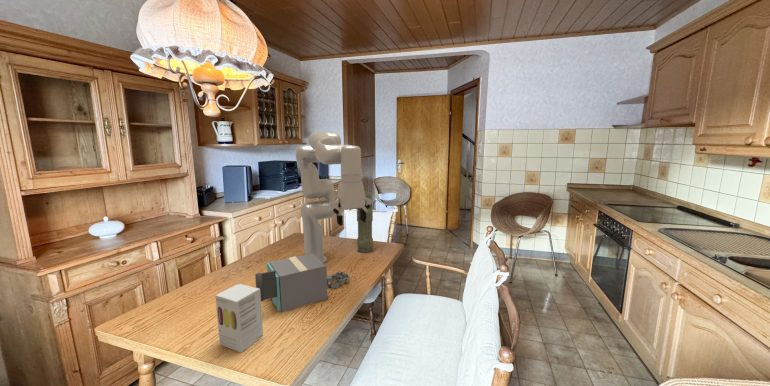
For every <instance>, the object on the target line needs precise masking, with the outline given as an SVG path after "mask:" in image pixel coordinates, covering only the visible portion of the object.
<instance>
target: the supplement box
mask: <svg viewBox="0 0 770 386" xmlns="http://www.w3.org/2000/svg"><path fill="white" fill-rule="evenodd" d="M215 304H216V314H217V315H216V316H217V317H216V318H217V327H218V338H219V341H218V342H219V345H221V346H223V347H225V348H227V349H231V350H232V351H235V352H238V353H243V352H244V351H245V350H247V349H248V348H249V347H251V346H252V345H254V344H255V343H256V342H258V340H260V339H261V338H263V337H264V331H263V330H264V329H263V327H264V325H263V314H262V302H261V295H260V289H259V288H256V286H255V287H253V286H250V285H246V284H243V283H241V282H240V283H237V284H235V285H233V286H231V287H229V288H226V289H225V290H223V291H220V292H219V293H217V294H216V295H215Z"/></svg>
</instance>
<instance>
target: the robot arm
mask: <svg viewBox="0 0 770 386" xmlns="http://www.w3.org/2000/svg"><path fill="white" fill-rule="evenodd" d="M307 141H308V144H305V145H300V146H297V148H296V151H295V159H296V162H297V165H298V168H299V171H300V179H301V180H300V181H301V190H302V197H304V198H305V199H306V200H313V199H314V201H308V202H304V203H302V205H301V207H300V214H301V219H302V226H303V227H302V229H303V244H304V245H303V246H304V247H303V248H304V255H307V254H312V253H313V254H314V255H315V256H316V257H317V258H318V259H319V260H320V261H321V262H323V263H324V264H325V263H326V262H327V261H328V260H327V259H328V258H327V257H326V256H325V254H324V234H323V233H324V232H323V231H324V229H323V226H322V225H321V223H320V222H318V221H320V220H325V219H331V218H334V216H335V215H336V223H337V224H338V226H340V227H342V226H344V219H343V218H344V217H343V212H345V211H348V210H354V209H355V210H357V208H360V209H361V210H362V211H360V220H361V221H363V222H366V212H367V211H368V209H369V207H370V205H371V202H372V203H373V199H372V200H371V199H369V198H367V197H365V192H364V189H365V186H364V184H363V183H364V182H363V181H362V180H363V179H365V176H364V175H363V174H362V149H361V148H360V146H359V145H358V146H357V145H351V144H342V139H341V135H339V134H338V133H337V132H335V131H315V132H312V133H311V134H310V135H309V136H308V140H307ZM314 163H321V164H323V165H326V166H327V165H328V166H330V165H340V182H338V185H337V186H338V187H337V195H336V194H335V186H334V183H333V181H332V180H331V179H328V178H321V179H320V177H319V170H318V168H317V166H316V165H315V164H314ZM335 196H336V197H337V198H336V197H335ZM315 199H323V200H315ZM365 200H366V201H367V204H366V205H365ZM336 206H337V208H336Z"/></svg>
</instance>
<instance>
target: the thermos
mask: <svg viewBox="0 0 770 386" xmlns="http://www.w3.org/2000/svg"><path fill="white" fill-rule="evenodd" d="M364 192H365V197H367V198H369V199H371V200H372V202H371V205H370V207H369V209H368V211H367V212H366V222H363V221H361V220H360V211H362V210H361V209H360V208H357V209H356V222H357V239H356V244H357V245H356V246H357V252H358V253H361V254H368V253H369V254H370V253H372V252H373V251H374V250H373V249H374V248H373V247H374V238H373V220H374V218H373V217H374V216H373V212H374V211H373V198H372V193H371V190H370V189H365V188H364ZM366 204H367V201H366V200H365V205H366Z"/></svg>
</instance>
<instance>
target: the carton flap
mask: <svg viewBox="0 0 770 386" xmlns="http://www.w3.org/2000/svg"><path fill="white" fill-rule="evenodd" d="M254 277H255V288H259V289H260V295H261V303H262V302H264V301H265V300H270V299H271V300H272V302H273V304H274V306H275V307H276V309H277V311H278V312H281V305H280V289H279V276H278V275H277V274H276V272H275V270H274V269H273V268H272V266H271V265H270V261H267V262H266V271H265V272H257V273H255V274H254Z"/></svg>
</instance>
